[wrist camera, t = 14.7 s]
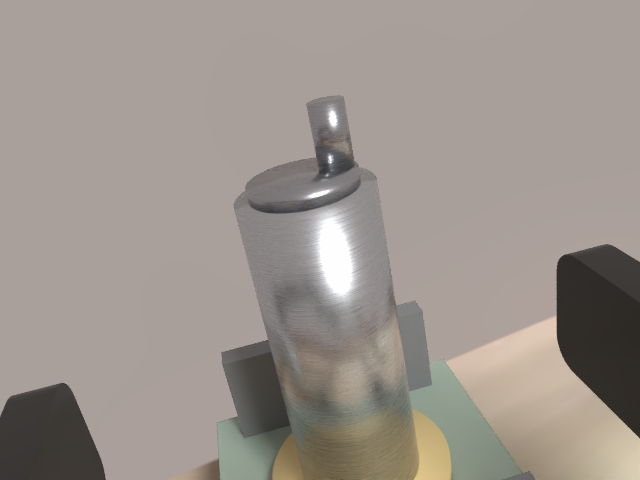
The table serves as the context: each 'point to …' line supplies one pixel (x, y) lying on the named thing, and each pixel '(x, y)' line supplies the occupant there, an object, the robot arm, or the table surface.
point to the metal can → (331, 307)
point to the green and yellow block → (427, 407)
